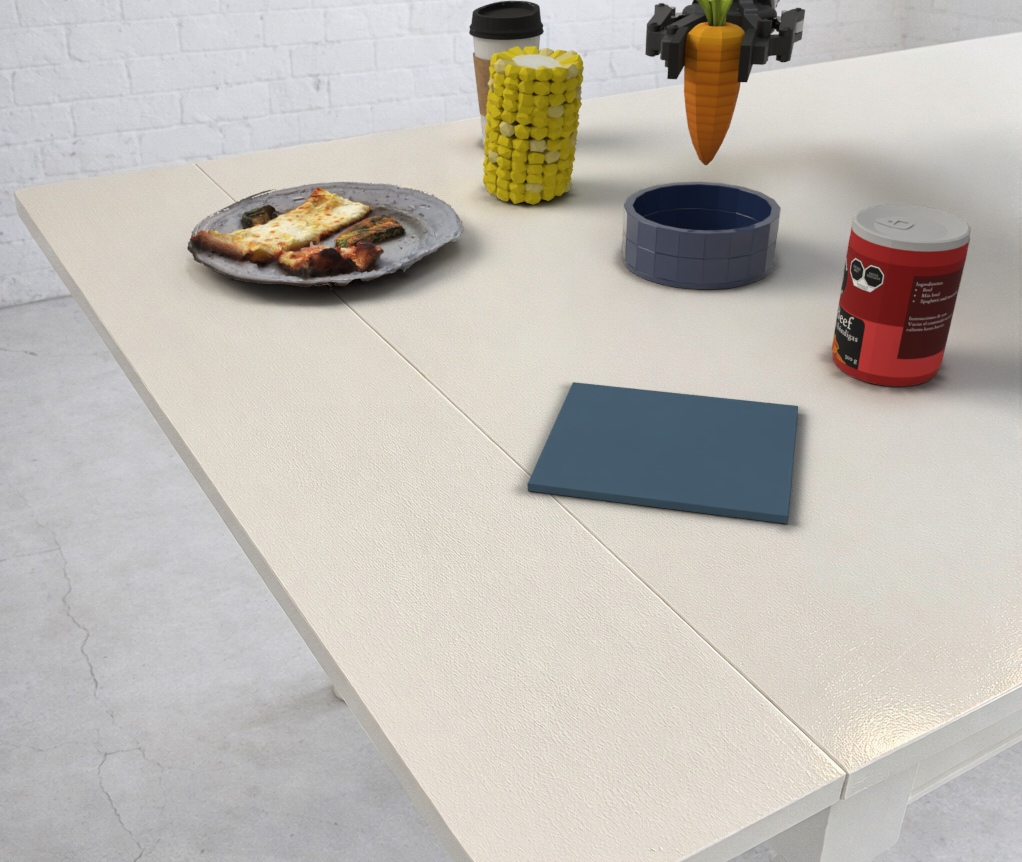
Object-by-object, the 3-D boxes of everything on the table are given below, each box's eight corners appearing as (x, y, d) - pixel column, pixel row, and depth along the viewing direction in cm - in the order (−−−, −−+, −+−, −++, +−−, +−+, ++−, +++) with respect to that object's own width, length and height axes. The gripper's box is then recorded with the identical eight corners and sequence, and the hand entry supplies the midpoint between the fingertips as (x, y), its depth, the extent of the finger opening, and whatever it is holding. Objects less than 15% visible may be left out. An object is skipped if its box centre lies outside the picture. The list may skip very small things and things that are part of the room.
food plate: (319, 327, 91) (314, 286, 89) (139, 264, 103) (131, 226, 101) (506, 236, 108) (506, 200, 106) (332, 191, 120) (329, 158, 118)
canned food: (835, 336, 89) (857, 199, 82) (941, 350, 86) (973, 210, 80) (823, 379, 83) (847, 234, 76) (938, 395, 80) (971, 247, 74)
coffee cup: (556, 139, 134) (558, 4, 126) (518, 158, 129) (516, 16, 120) (498, 129, 138) (496, -3, 130) (458, 146, 132) (453, 9, 124)
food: (514, 188, 125) (589, 210, 120) (447, 191, 116) (525, 216, 111) (537, 40, 118) (618, 58, 113) (469, 32, 109) (553, 51, 104)
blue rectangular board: (797, 413, 79) (798, 405, 78) (787, 524, 67) (788, 516, 67) (572, 389, 82) (572, 381, 82) (527, 491, 71) (527, 483, 70)
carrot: (713, 177, 94) (729, -19, 86) (665, 165, 97) (676, -25, 89) (746, 163, 97) (765, -27, 89) (698, 152, 100) (712, -33, 92)
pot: (777, 239, 106) (784, 186, 104) (768, 295, 95) (775, 238, 93) (634, 228, 109) (637, 177, 106) (610, 282, 98) (612, 226, 95)
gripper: (825, 53, 107) (819, 117, 88) (638, 46, 111) (594, 106, 92) (837, -34, 103) (832, 14, 84) (642, -38, 106) (597, 7, 88)
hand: (708, 62), depth 88 cm, fingers closed on carrot, 5 cm apart
